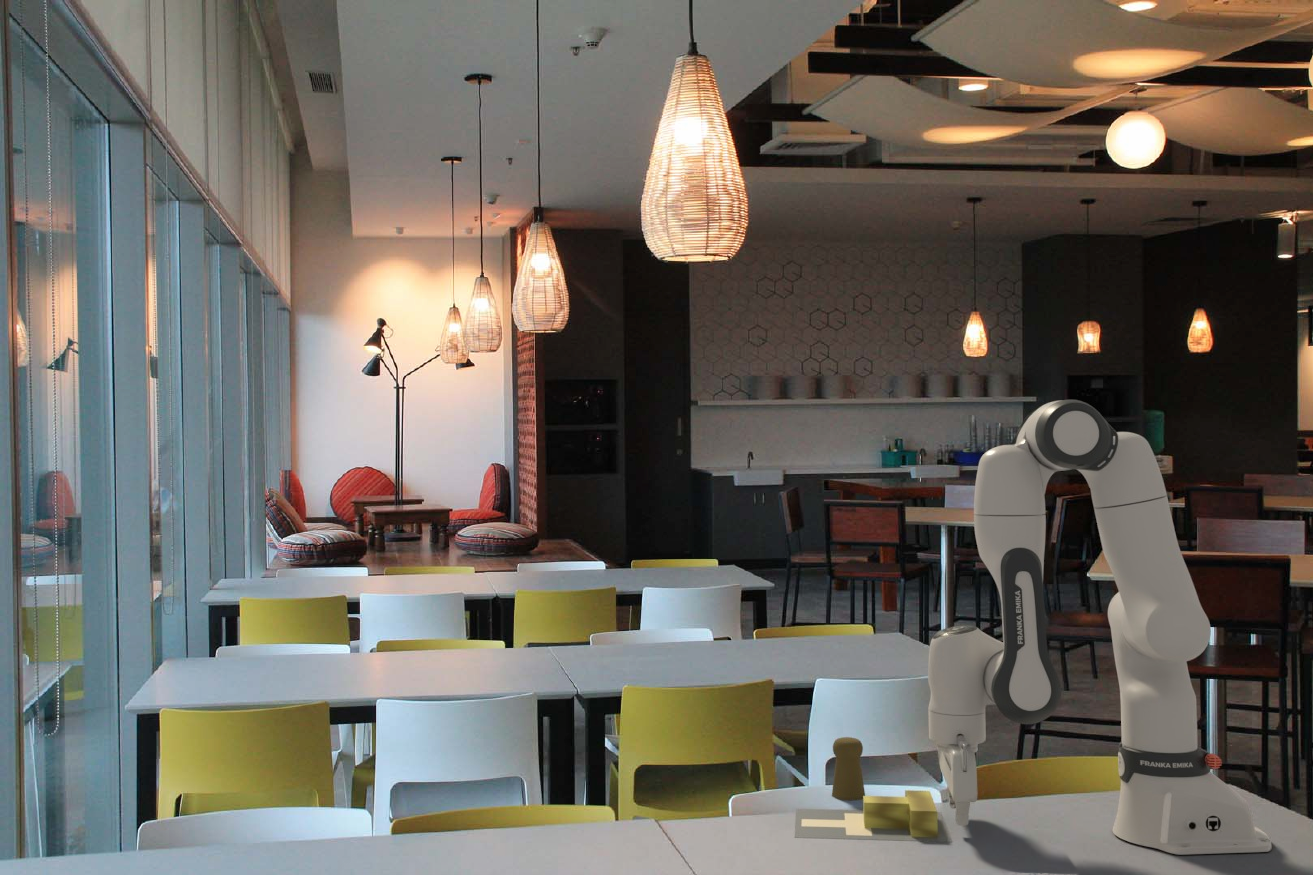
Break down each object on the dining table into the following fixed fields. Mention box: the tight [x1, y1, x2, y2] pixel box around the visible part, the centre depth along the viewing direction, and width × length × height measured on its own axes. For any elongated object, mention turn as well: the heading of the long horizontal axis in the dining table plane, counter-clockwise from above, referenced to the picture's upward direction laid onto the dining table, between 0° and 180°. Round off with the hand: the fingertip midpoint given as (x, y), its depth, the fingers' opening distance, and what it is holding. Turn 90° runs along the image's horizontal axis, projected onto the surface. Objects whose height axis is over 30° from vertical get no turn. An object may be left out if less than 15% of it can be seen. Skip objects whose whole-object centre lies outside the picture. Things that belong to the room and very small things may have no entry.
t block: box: [862, 789, 938, 838], centre depth 193 cm, size 11×12×4 cm
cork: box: [831, 736, 866, 801], centre depth 210 cm, size 6×6×11 cm
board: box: [794, 808, 953, 843], centre depth 193 cm, size 24×16×1 cm, turn 83°
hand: (958, 815), depth 191 cm, fingers open, 8 cm apart
